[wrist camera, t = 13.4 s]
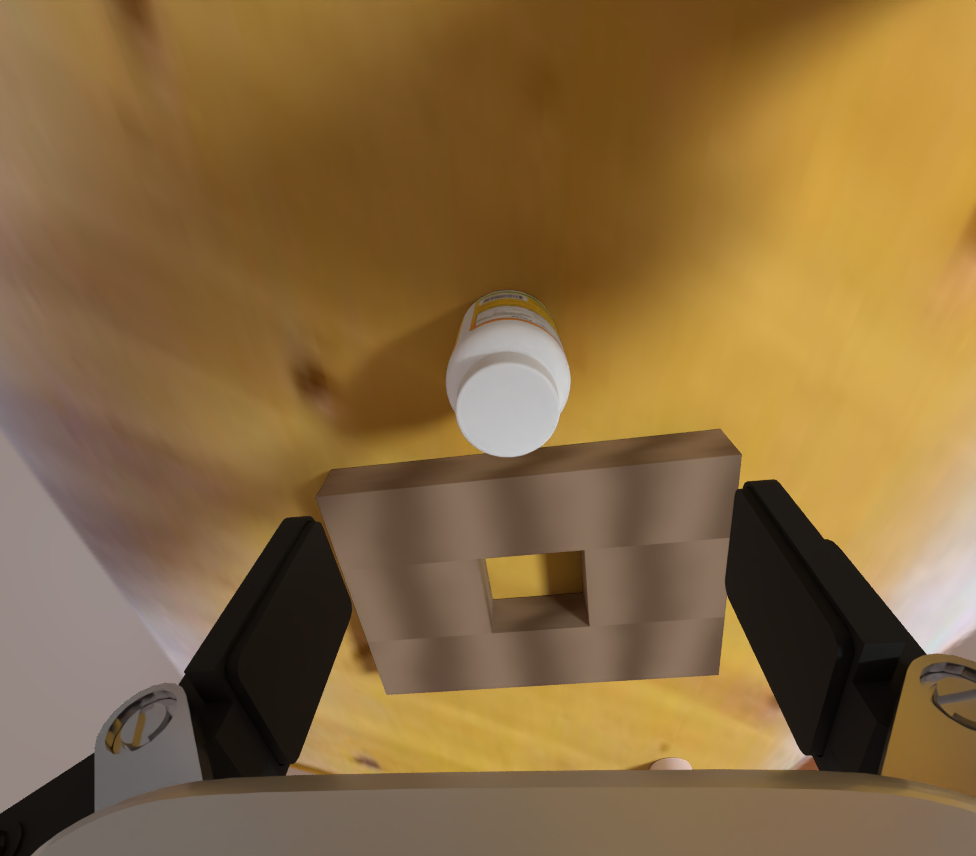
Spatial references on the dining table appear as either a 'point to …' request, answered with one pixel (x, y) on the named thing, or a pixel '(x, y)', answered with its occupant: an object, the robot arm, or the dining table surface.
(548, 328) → the supplement bottle
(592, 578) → the pocket board
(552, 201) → the dining table surface
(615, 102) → the dining table surface
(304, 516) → the robot arm
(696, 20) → the dining table surface
